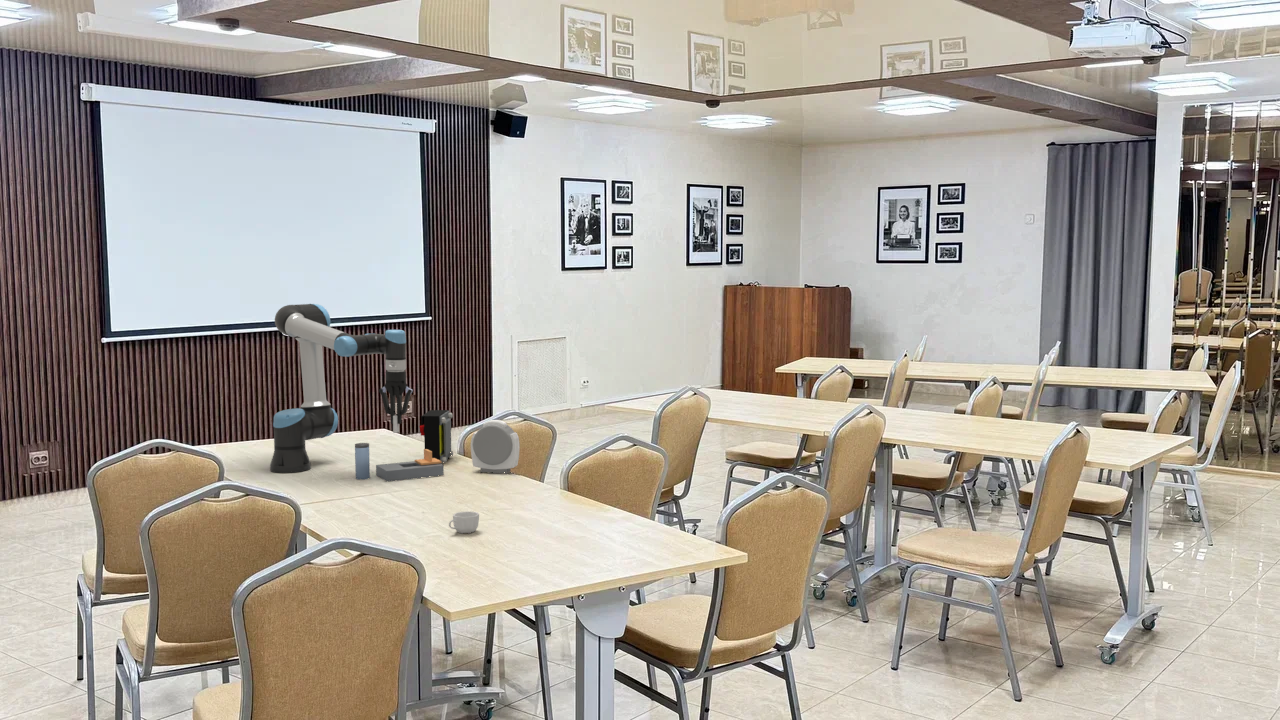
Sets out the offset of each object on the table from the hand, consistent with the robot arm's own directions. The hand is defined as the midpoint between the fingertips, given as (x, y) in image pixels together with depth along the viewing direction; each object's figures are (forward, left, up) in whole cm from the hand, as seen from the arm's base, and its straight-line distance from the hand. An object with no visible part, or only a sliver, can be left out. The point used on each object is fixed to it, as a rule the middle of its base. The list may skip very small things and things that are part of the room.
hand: (396, 432), depth 399 cm
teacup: (+94, -9, -17) cm, 96 cm away
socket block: (+2, +4, -17) cm, 17 cm away
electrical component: (-21, +23, -17) cm, 36 cm away
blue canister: (-2, -13, -17) cm, 21 cm away
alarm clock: (+12, +35, -17) cm, 41 cm away
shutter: (+2, +12, -13) cm, 17 cm away
